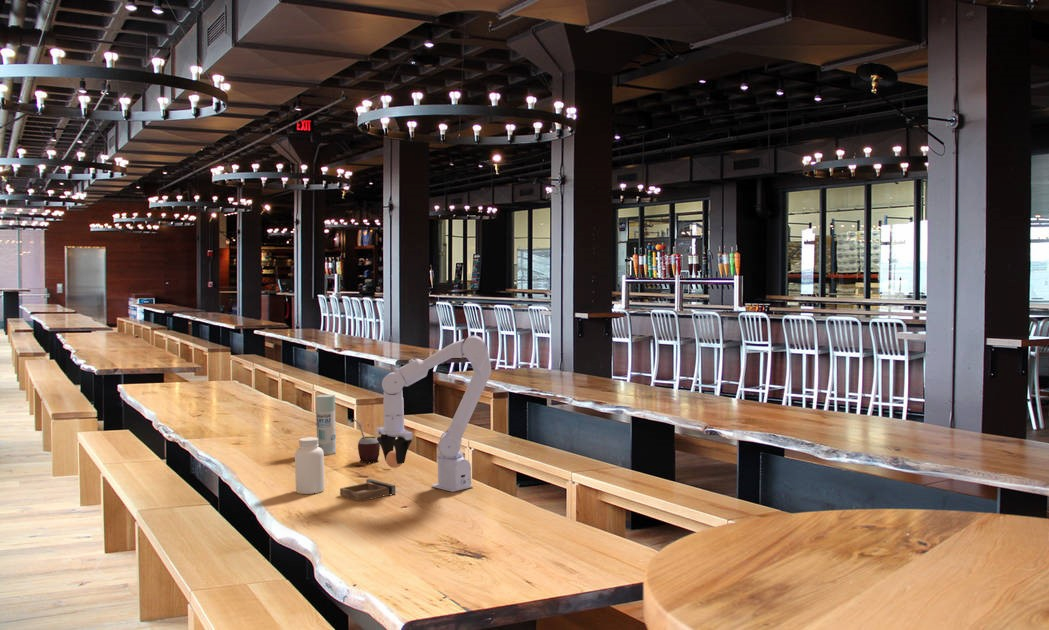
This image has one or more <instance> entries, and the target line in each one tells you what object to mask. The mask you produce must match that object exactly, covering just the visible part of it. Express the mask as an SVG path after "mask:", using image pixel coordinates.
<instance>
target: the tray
mask: <svg viewBox="0 0 1049 630" xmlns="http://www.w3.org/2000/svg"><path fill="white" fill-rule="evenodd" d="M340 495H341V497H343V496H344V498H347V497H348V498H347V499H350V498H351V500H353V499H354V500H353V501H357V500H358V501H357V502H360V501H361V502H364V501H363V500H365V501H368V500H367V499H369V500H372V499H371V498H374V499H376V498H375V497H378V498H380V497H379V496H382V497H384V496H383V495H387V496H390V494H389V488H388V487H384V486H381V485H377V484H373V483H369V482H368V483H366V482H365V483H364V482H363V483H360V484H356V485H350V486H344V487H340V488H339V496H340Z"/></svg>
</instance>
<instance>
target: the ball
mask: <svg viewBox="0 0 1049 630" xmlns="http://www.w3.org/2000/svg"><path fill="white" fill-rule="evenodd" d="M385 462H386V463H385V464H387V466H388V467H390V468H393V469H397V468H399V467H401V466H402V465H403V463H402V464H397V461H396V452H395V449H393V451H390V452H389V453H388V454H387V456H386V461H385Z"/></svg>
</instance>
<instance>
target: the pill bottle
mask: <svg viewBox="0 0 1049 630" xmlns="http://www.w3.org/2000/svg"><path fill="white" fill-rule="evenodd" d="M298 445H299V448H298V449H297V450H296V451H295V453H294V463H295V464H294V468H295V471H294V473H295V475H294V477H295V492H296V493H298V494H299V495H300V494H302V495H313V494H314V493H315V494H318V493H322V492H324V490H325V455H324V452H323V450H322V449H321V448H320V447H318V446H319V444H318V438H317V436H316V437H315V436H311V437H309V436H308V437H303V438H299V439H298Z"/></svg>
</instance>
